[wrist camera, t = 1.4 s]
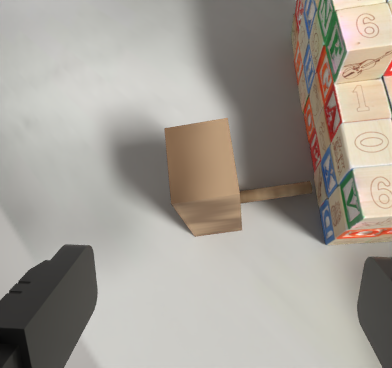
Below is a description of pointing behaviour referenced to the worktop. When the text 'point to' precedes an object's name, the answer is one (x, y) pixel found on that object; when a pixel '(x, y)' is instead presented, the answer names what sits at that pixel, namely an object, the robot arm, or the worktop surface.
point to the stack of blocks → (348, 113)
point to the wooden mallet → (211, 178)
